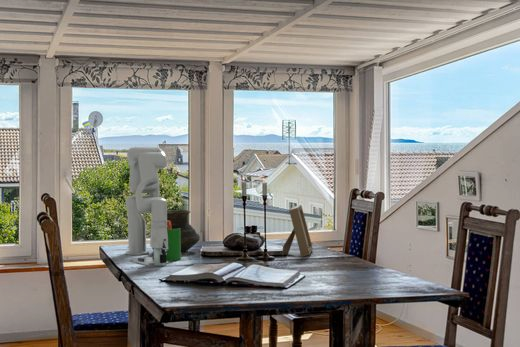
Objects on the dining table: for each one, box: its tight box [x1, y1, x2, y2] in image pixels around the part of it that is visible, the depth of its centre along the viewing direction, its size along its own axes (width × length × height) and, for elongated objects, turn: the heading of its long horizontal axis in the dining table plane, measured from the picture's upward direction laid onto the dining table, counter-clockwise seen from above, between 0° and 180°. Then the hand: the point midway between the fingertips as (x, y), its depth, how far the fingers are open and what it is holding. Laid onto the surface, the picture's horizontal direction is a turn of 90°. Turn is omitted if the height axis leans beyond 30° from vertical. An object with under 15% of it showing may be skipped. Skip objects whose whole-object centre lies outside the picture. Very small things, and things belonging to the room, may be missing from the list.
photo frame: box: [281, 204, 313, 258], centre depth 360 cm, size 15×22×25 cm
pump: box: [153, 248, 167, 267], centre depth 328 cm, size 6×6×10 cm
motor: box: [166, 221, 182, 262], centre depth 346 cm, size 10×9×20 cm
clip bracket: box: [128, 255, 169, 267], centre depth 338 cm, size 20×11×2 cm, turn 37°
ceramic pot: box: [167, 209, 201, 254], centre depth 372 cm, size 24×24×22 cm
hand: (159, 261), depth 328 cm, fingers closed on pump, 5 cm apart
